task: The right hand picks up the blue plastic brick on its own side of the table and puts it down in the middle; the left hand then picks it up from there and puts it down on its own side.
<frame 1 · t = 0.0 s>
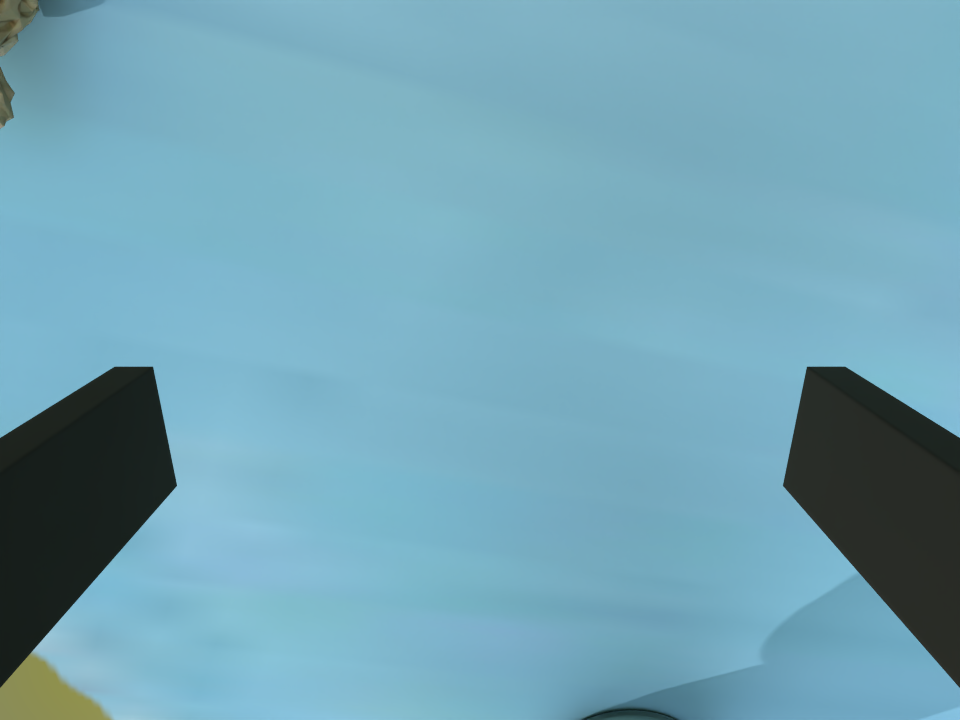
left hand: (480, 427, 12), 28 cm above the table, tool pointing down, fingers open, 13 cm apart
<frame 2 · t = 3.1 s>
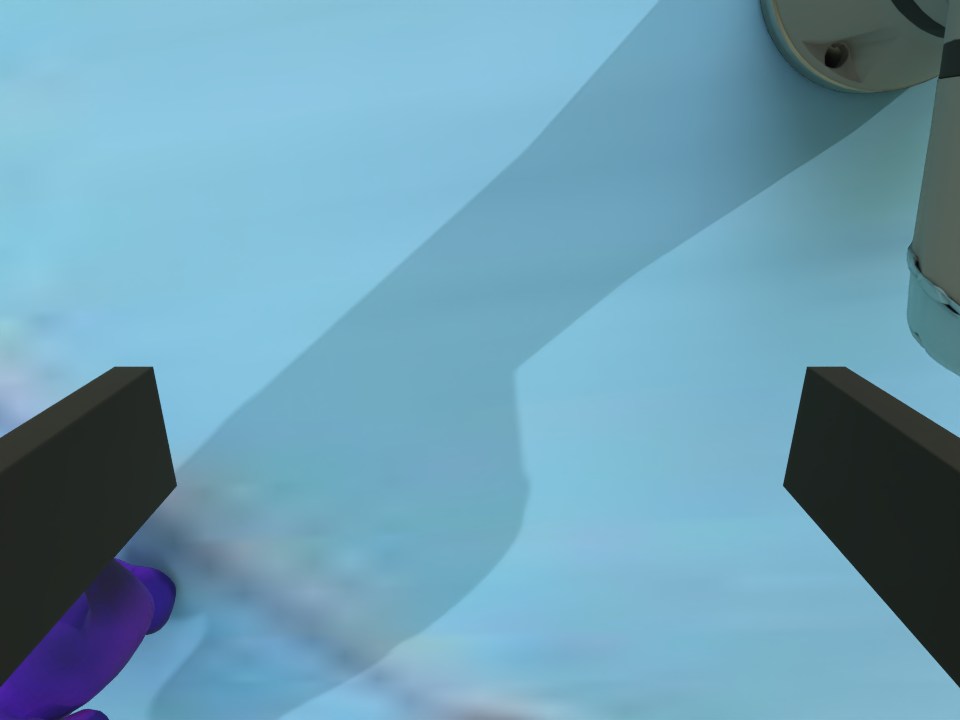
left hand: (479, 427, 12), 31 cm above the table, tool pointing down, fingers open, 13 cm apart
toy: (84, 565, 52), on the table
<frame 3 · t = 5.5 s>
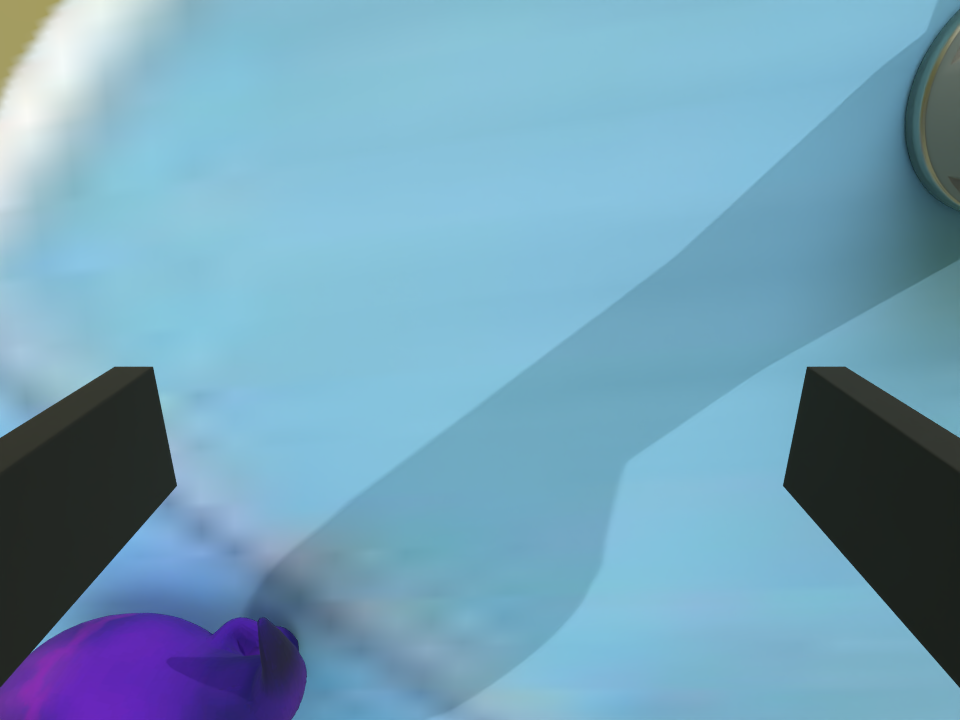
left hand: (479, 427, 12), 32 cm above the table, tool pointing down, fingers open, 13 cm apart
toy: (210, 621, 55), on the table
when the right hand's fingers open (3 cm above the table, at t = 7.9 s): brick drops 1 cm, on the table.
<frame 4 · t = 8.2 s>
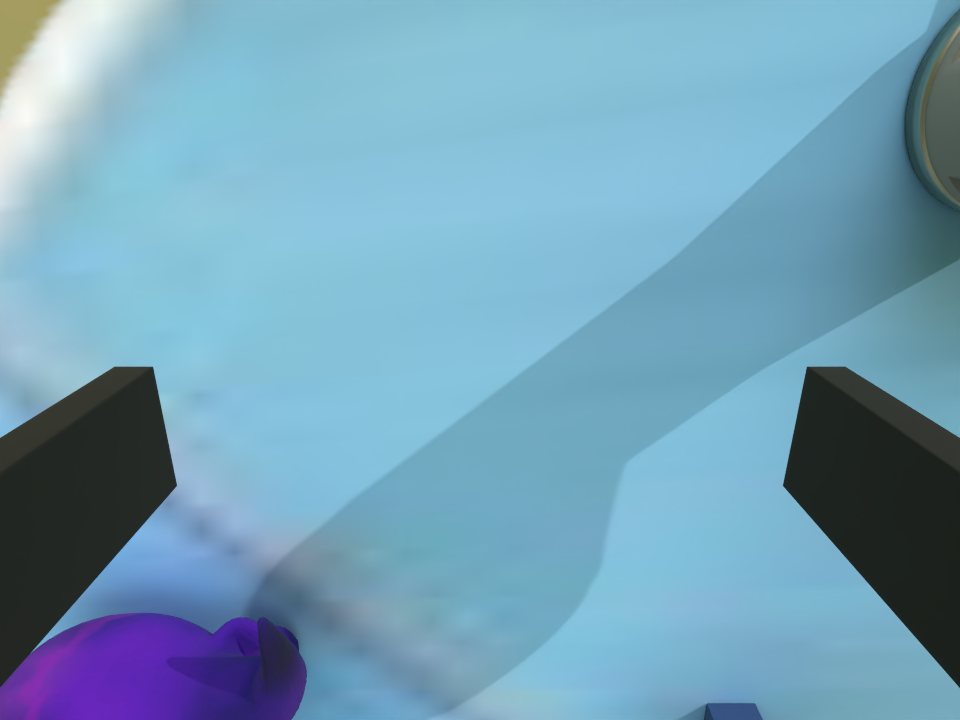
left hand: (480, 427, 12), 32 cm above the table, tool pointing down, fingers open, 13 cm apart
toy: (210, 621, 55), on the table
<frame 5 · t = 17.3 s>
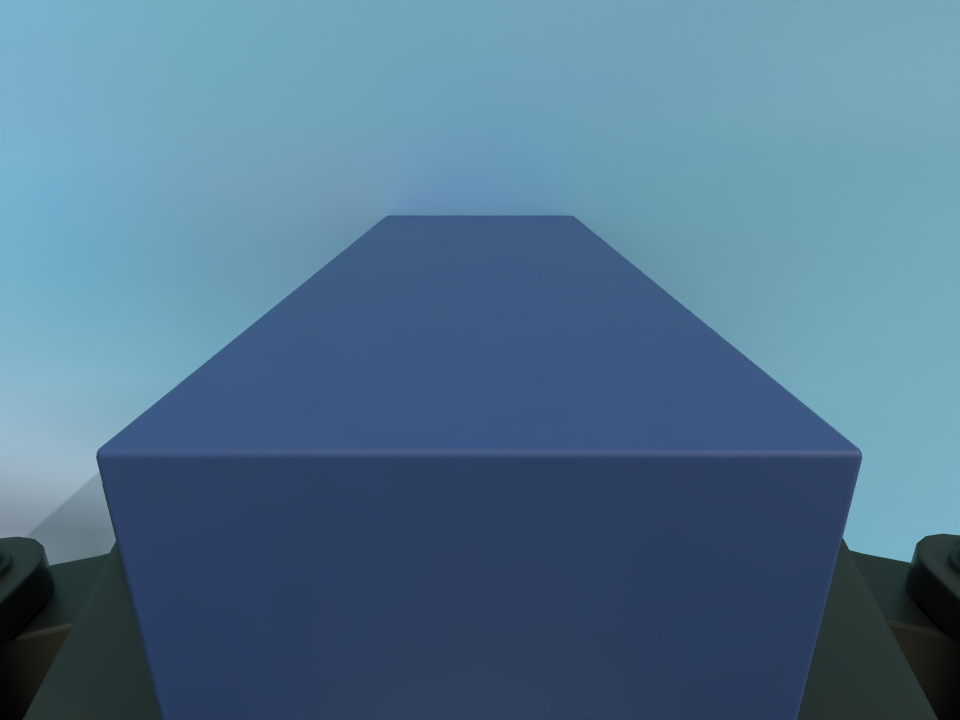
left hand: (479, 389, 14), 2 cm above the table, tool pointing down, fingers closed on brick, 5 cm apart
brick: (479, 358, 16), on the table, touching left hand
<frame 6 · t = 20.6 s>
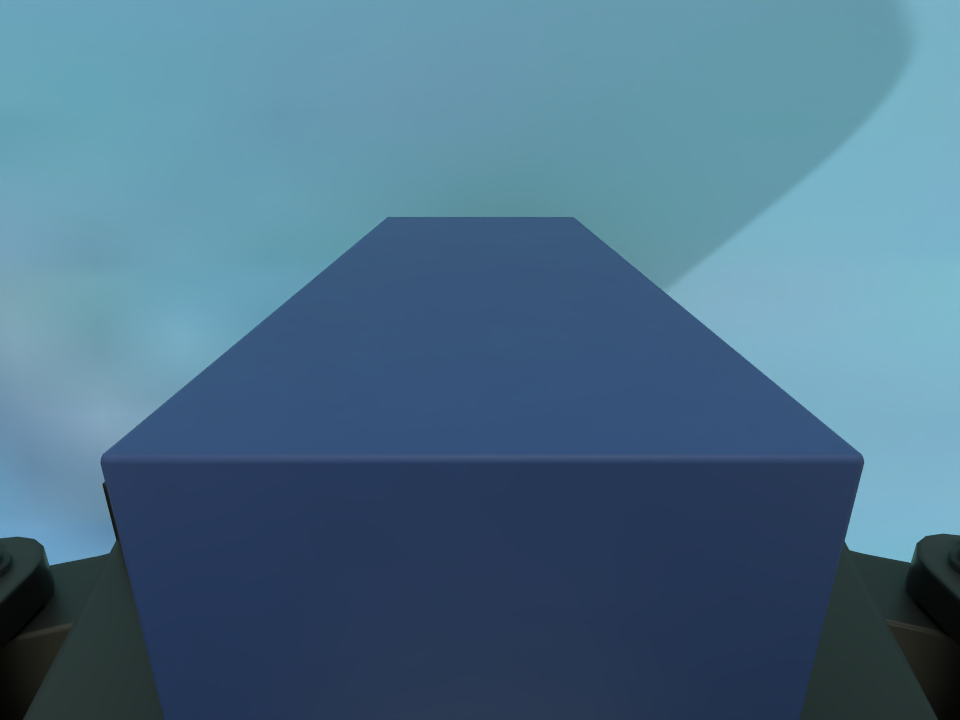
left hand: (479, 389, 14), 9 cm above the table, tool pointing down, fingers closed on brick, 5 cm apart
brick: (480, 359, 16), point 7 cm above the table, touching left hand
when the left hand's fingers open (3 cm above the table, at t = 23.8 s): brick drops 1 cm, on the table.
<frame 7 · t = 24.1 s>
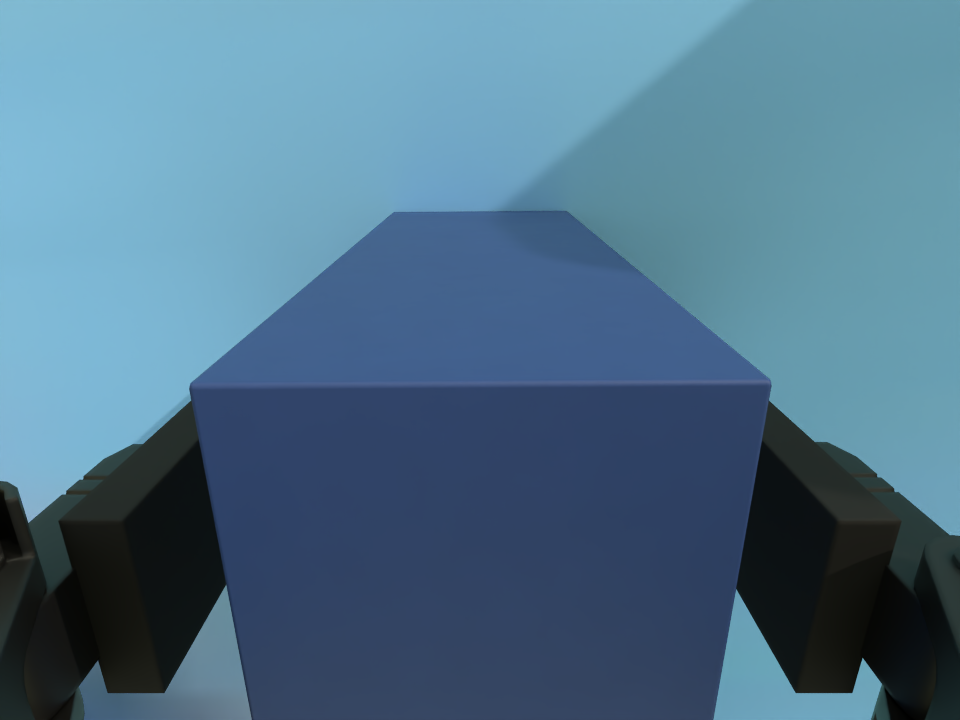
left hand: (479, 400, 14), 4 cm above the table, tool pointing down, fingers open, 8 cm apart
brick: (481, 345, 17), on the table
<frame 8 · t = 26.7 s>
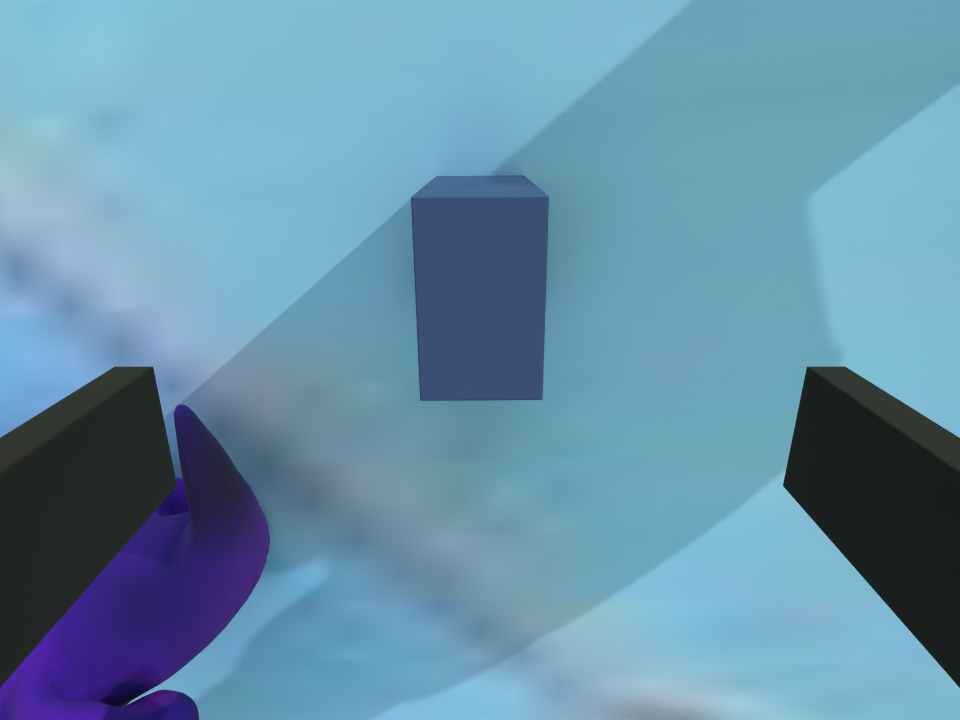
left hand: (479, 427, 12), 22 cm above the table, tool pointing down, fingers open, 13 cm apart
toy: (141, 496, 38), on the table
brick: (480, 248, 33), on the table
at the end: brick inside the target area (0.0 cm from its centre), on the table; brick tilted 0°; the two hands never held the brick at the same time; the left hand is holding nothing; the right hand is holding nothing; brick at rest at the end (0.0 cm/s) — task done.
